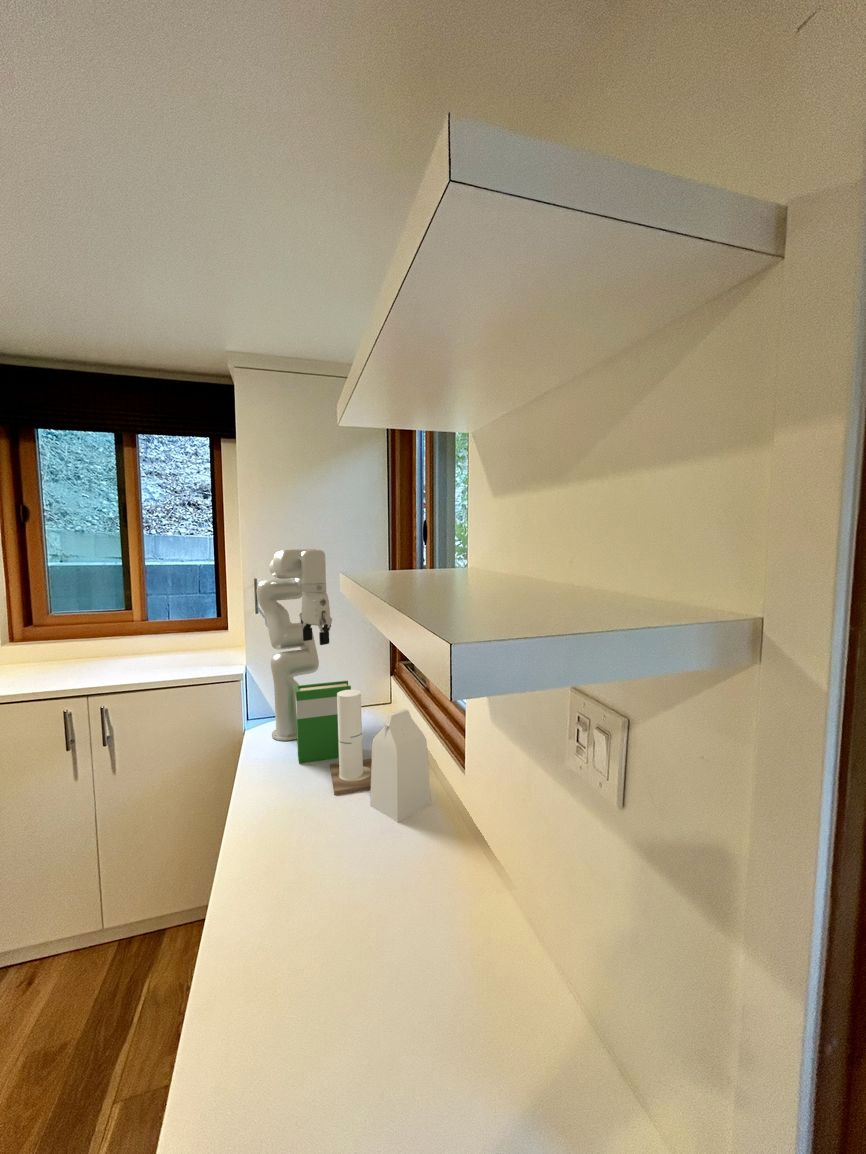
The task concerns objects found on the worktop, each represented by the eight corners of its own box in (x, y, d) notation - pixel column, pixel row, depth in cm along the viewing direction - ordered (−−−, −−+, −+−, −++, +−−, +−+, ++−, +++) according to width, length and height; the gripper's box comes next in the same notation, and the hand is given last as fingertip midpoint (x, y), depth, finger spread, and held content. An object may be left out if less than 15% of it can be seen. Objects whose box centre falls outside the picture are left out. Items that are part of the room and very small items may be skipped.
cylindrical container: (365, 775, 150) (363, 694, 148) (342, 780, 147) (340, 697, 145) (359, 766, 156) (357, 688, 155) (337, 770, 153) (334, 691, 152)
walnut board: (330, 767, 158) (330, 763, 158) (373, 761, 162) (373, 757, 162) (334, 794, 141) (334, 790, 141) (382, 787, 145) (382, 783, 145)
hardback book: (349, 747, 174) (347, 680, 172) (352, 755, 167) (350, 686, 165) (297, 754, 168) (295, 685, 167) (298, 764, 161) (296, 691, 160)
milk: (403, 790, 143) (401, 702, 141) (430, 804, 135) (429, 711, 133) (370, 805, 135) (367, 712, 133) (397, 822, 127) (395, 723, 125)
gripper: (339, 589, 153) (341, 644, 154) (309, 586, 165) (311, 637, 166) (319, 591, 148) (320, 648, 149) (289, 588, 160) (291, 640, 161)
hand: (316, 642), depth 158 cm, fingers open, 9 cm apart
